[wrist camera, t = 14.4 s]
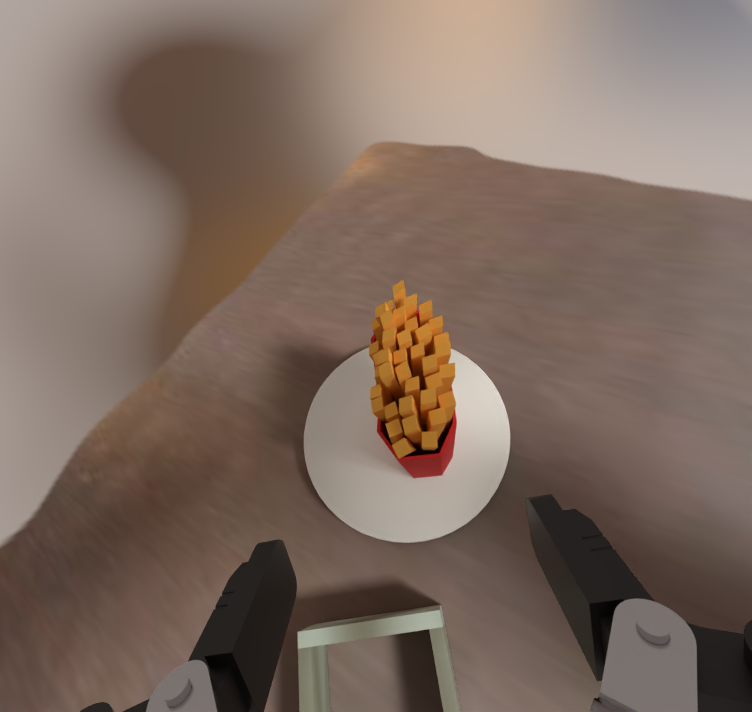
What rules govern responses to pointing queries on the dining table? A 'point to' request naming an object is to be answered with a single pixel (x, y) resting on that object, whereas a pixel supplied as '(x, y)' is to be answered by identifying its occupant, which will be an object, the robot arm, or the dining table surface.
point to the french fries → (413, 385)
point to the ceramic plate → (385, 474)
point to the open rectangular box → (319, 635)
